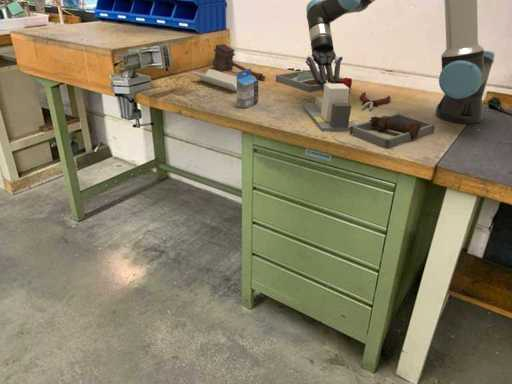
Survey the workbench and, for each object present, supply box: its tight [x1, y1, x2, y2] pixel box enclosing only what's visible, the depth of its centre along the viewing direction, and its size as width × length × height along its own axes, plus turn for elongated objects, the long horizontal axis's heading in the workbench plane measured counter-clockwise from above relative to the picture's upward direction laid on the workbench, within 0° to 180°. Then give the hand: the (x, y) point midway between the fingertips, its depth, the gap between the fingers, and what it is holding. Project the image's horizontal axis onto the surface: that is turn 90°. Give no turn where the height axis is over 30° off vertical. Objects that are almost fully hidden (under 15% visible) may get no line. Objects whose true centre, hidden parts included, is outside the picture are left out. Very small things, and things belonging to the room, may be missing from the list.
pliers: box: [359, 91, 392, 111], centre depth 157 cm, size 12×20×3 cm, turn 155°
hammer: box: [212, 43, 266, 81], centre depth 193 cm, size 7×33×10 cm, turn 44°
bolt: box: [369, 115, 420, 141], centre depth 130 cm, size 6×5×15 cm
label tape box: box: [236, 68, 259, 109], centre depth 149 cm, size 9×4×12 cm, turn 148°
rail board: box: [301, 96, 357, 132], centre depth 141 cm, size 26×12×8 cm, turn 9°
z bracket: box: [193, 68, 237, 93], centre depth 174 cm, size 12×25×6 cm
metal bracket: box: [292, 72, 320, 83], centre depth 184 cm, size 14×6×15 cm
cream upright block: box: [321, 84, 351, 122], centre depth 135 cm, size 6×6×11 cm
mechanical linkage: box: [337, 77, 353, 95], centre depth 170 cm, size 16×7×5 cm, turn 149°
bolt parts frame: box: [349, 112, 436, 149], centre depth 130 cm, size 14×24×2 cm, turn 128°
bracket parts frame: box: [275, 69, 344, 93], centre depth 183 cm, size 22×22×2 cm
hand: (330, 102), depth 139 cm, fingers closed
